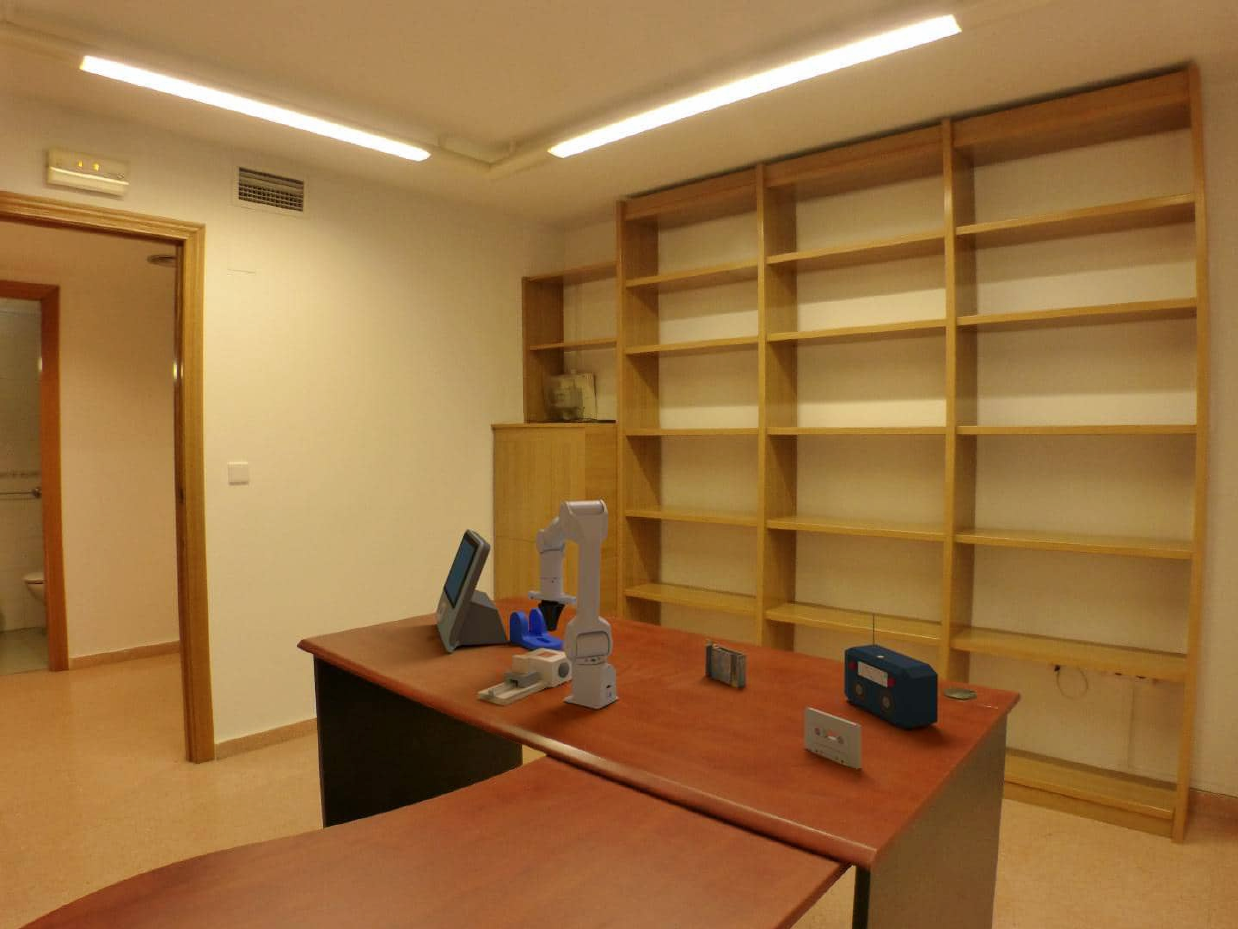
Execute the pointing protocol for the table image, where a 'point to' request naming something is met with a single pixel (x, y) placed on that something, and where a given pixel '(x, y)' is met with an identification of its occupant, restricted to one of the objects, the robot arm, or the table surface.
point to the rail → (503, 688)
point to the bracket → (532, 631)
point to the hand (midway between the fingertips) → (551, 630)
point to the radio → (891, 685)
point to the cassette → (838, 748)
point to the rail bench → (512, 693)
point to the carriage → (521, 672)
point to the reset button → (547, 655)
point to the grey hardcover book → (725, 664)
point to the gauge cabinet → (551, 666)
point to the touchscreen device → (468, 600)
